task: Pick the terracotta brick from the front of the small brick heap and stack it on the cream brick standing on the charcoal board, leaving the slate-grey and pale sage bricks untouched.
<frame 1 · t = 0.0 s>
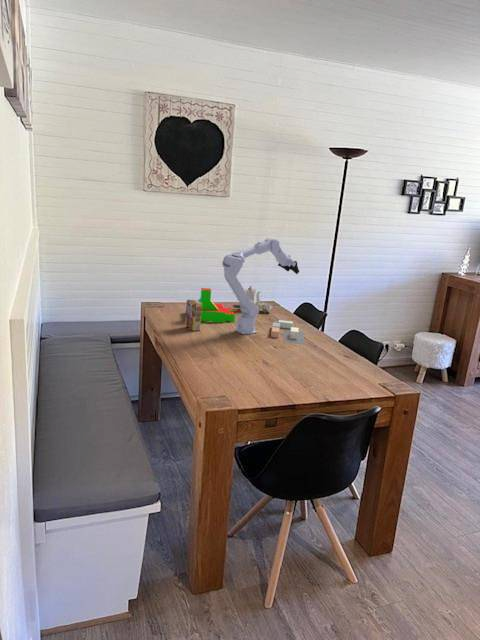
hand: (293, 271, 264), 32 cm above the table, tool tilted 50°, fingers open, 7 cm apart
cream brick: (293, 336, 253), point 1 cm above the table, touching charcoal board
candy box: (192, 329, 254), on the table
slate brick: (275, 331, 262), on the table
chinaware: (251, 310, 305), on the table
sage brick: (285, 328, 270), on the table
terracotta brick: (274, 336, 253), on the table
building blocks toy: (211, 318, 278), on the table
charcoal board: (293, 337, 253), on the table
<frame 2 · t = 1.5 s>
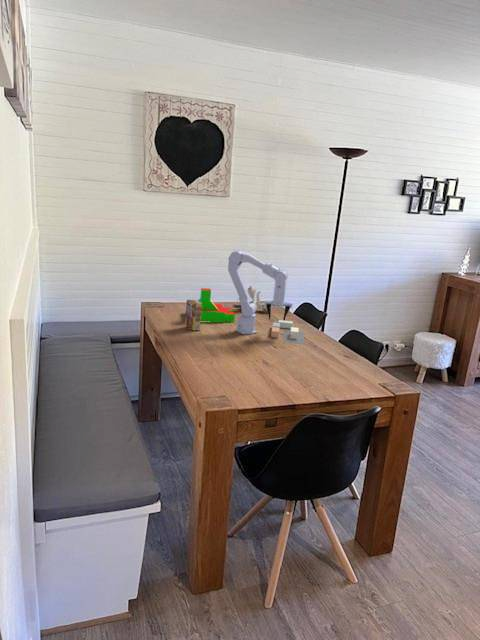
hand: (276, 319, 250), 9 cm above the table, tool pointing down, fingers open, 7 cm apart
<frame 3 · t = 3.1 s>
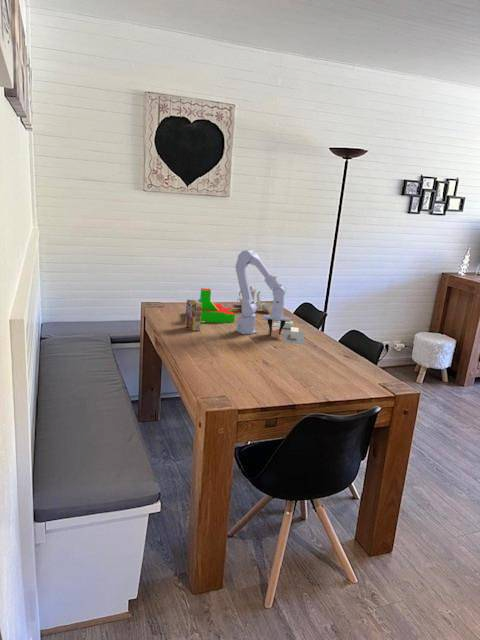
hand: (275, 333, 253), 1 cm above the table, tool pointing down, fingers closed on terracotta brick, 4 cm apart
terracotta brick: (274, 336, 253), on the table, touching gripper
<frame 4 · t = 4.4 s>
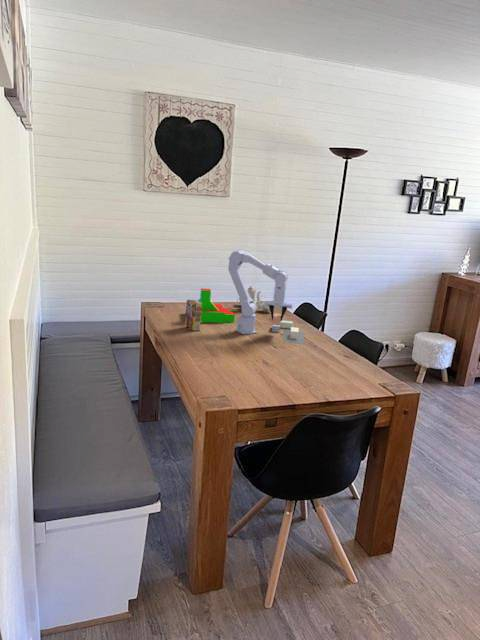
hand: (276, 320, 251), 9 cm above the table, tool pointing down, fingers closed on terracotta brick, 4 cm apart
terracotta brick: (276, 322, 251), point 7 cm above the table, touching gripper
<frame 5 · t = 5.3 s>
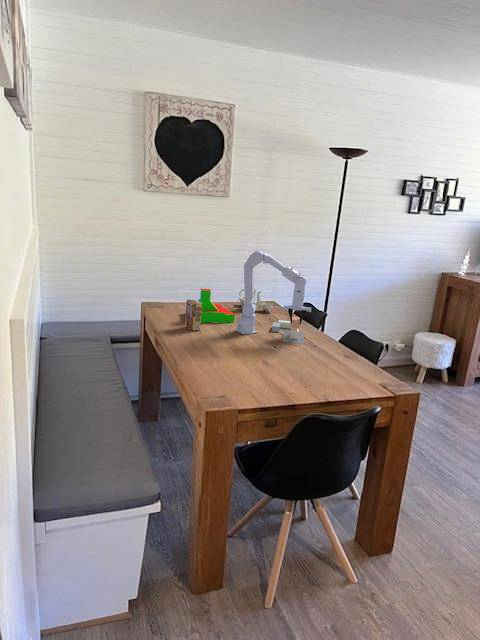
hand: (295, 323, 251), 8 cm above the table, tool pointing down, fingers closed on terracotta brick, 4 cm apart
terracotta brick: (295, 326, 251), point 6 cm above the table, touching gripper
when the fingers open (7 cm above the table, at t = 5.8 s): terracotta brick drops 1 cm, resting on cream brick.
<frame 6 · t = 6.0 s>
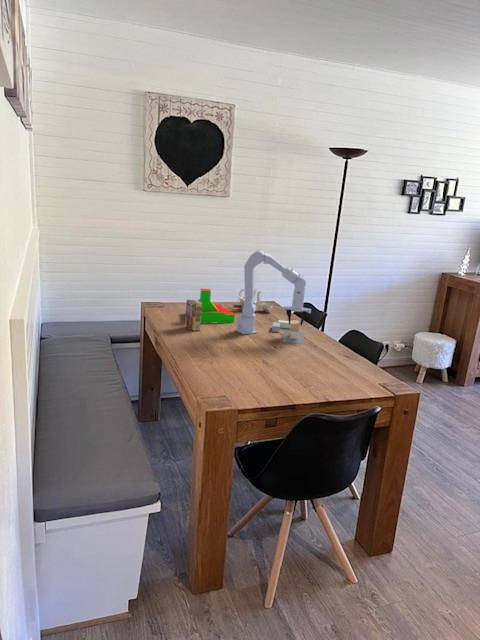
hand: (295, 324, 251), 7 cm above the table, tool pointing down, fingers open, 5 cm apart
cream brick: (293, 336, 253), point 1 cm above the table, touching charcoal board, terracotta brick
terracotta brick: (294, 329, 252), point 5 cm above the table, touching cream brick
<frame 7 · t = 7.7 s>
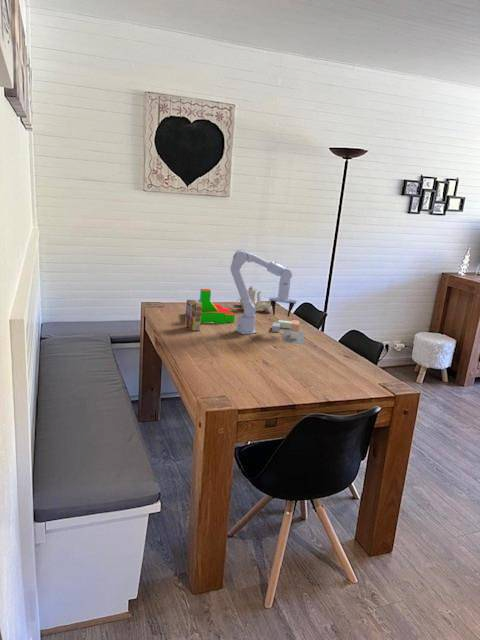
hand: (281, 315, 255), 10 cm above the table, tool pointing down, fingers open, 7 cm apart
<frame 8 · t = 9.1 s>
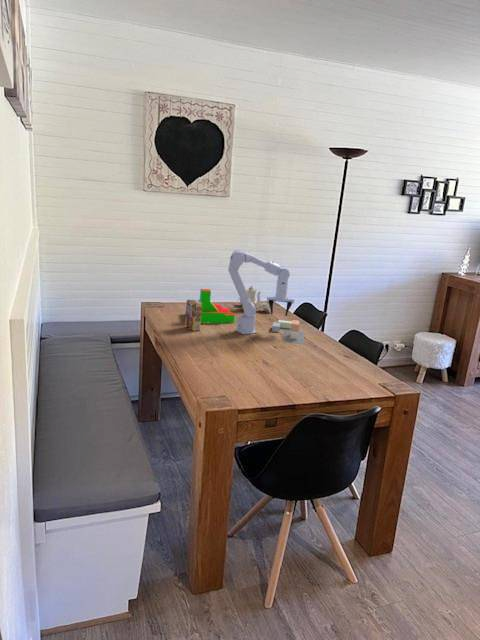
hand: (278, 314, 256), 10 cm above the table, tool pointing down, fingers open, 7 cm apart
at the end: terracotta brick 0.1 cm off-centre on the cream brick, point 4.0 cm above the cream brick's base; slate brick moved 0.3 cm from its start; sage brick moved 0.3 cm from its start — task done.
